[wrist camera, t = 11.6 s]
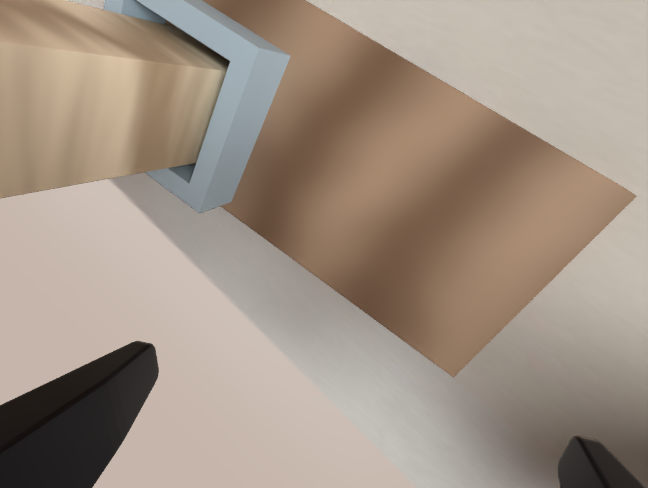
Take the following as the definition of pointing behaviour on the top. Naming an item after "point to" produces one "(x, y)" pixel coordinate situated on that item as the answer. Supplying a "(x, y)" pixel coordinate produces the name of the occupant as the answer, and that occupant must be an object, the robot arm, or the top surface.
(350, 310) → the top surface
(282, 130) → the tan flat plate
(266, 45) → the slate socket block
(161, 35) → the beech pillar
